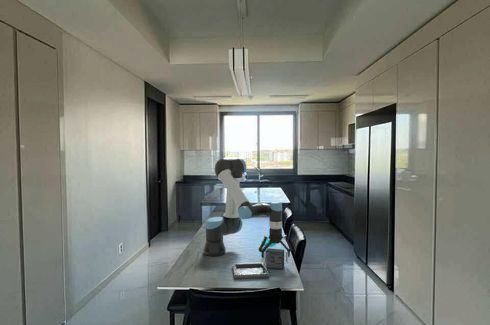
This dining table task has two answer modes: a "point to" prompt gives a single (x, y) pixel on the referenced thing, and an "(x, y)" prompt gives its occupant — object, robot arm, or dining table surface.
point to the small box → (275, 258)
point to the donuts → (269, 246)
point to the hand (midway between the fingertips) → (275, 262)
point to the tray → (250, 270)
